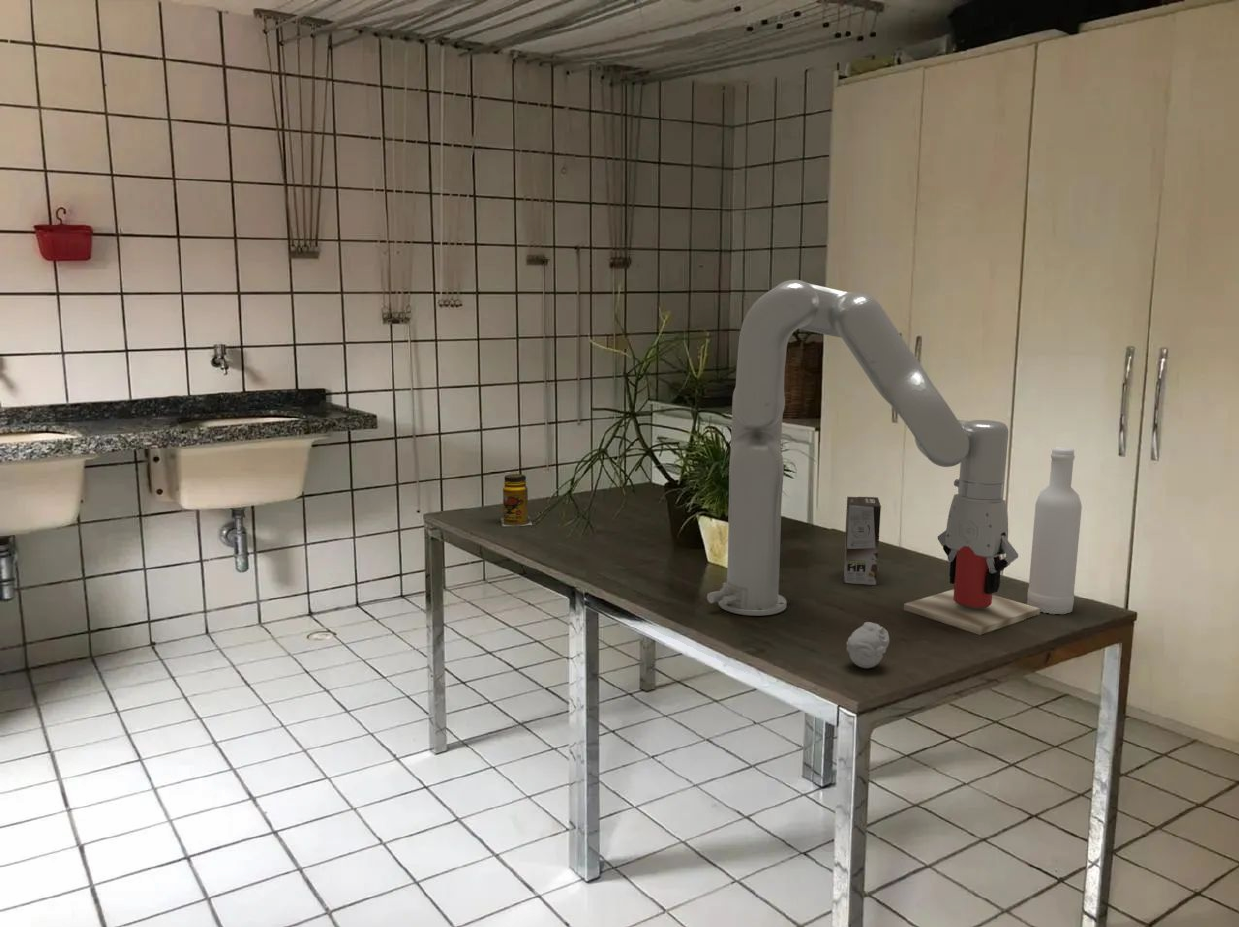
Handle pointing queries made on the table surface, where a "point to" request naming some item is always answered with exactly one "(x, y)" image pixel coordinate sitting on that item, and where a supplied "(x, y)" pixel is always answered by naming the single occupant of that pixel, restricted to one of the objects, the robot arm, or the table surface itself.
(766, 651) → the table surface
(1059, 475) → the bottle
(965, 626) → the birch board
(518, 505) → the condiment
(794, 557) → the table surface
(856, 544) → the coffee box
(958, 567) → the beer can
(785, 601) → the robot arm
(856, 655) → the frog figurine
